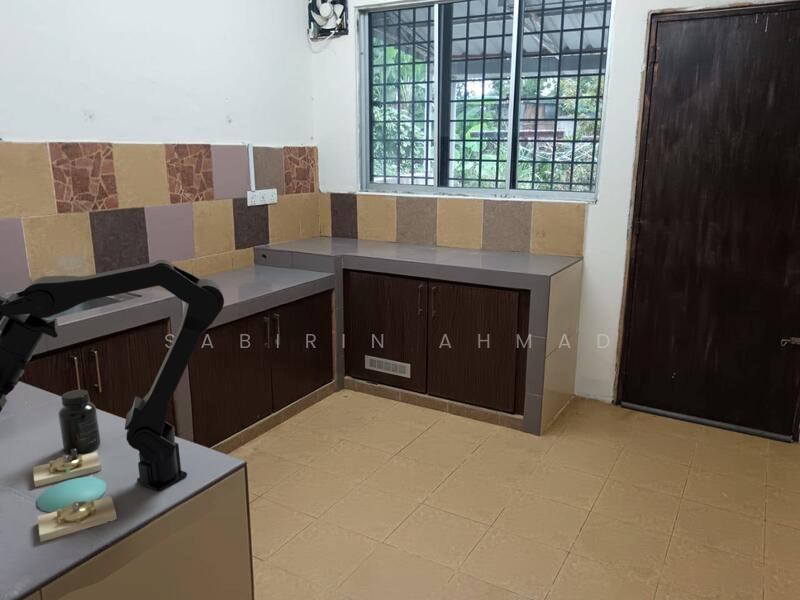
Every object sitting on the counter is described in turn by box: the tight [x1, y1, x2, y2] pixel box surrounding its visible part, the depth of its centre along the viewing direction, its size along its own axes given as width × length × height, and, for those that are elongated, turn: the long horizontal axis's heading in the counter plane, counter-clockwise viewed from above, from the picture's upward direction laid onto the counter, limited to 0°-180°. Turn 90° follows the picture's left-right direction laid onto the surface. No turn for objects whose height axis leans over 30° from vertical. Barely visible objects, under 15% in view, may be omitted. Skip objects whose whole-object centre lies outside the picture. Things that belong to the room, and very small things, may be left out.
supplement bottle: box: [58, 389, 101, 455], centre depth 124 cm, size 7×7×12 cm
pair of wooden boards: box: [32, 451, 118, 543], centre depth 109 cm, size 25×11×1 cm, turn 32°
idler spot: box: [36, 476, 107, 513], centre depth 109 cm, size 11×11×1 cm
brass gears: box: [49, 448, 96, 525], centre depth 108 cm, size 25×6×3 cm, turn 32°
